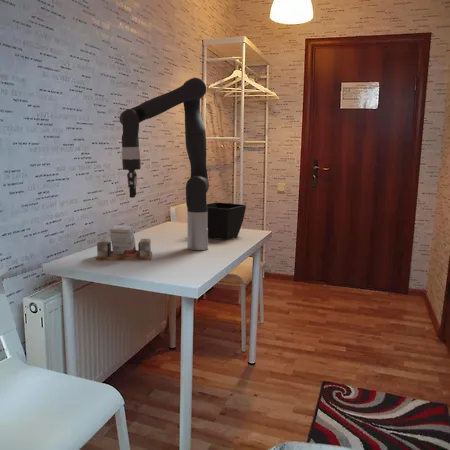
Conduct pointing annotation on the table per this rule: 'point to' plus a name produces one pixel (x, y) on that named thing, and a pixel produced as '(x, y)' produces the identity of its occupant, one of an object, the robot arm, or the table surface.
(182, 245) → the table surface
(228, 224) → the flower pot
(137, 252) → the rail
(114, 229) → the ink box
